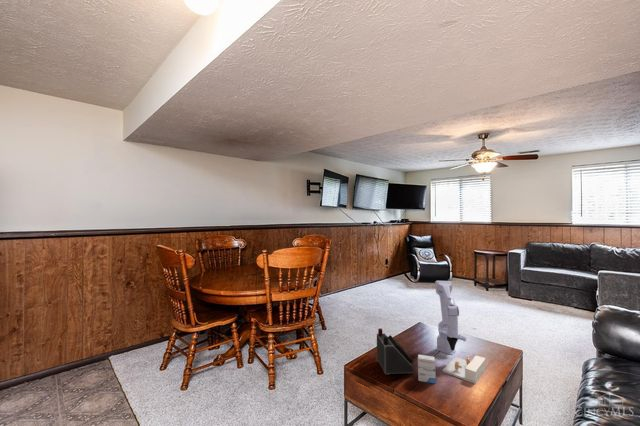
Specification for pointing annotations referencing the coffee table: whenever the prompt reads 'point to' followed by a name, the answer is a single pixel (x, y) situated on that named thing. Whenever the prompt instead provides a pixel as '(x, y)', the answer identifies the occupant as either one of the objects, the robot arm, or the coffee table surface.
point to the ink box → (426, 369)
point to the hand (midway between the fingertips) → (452, 349)
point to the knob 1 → (457, 365)
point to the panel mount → (467, 369)
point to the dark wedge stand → (392, 355)
